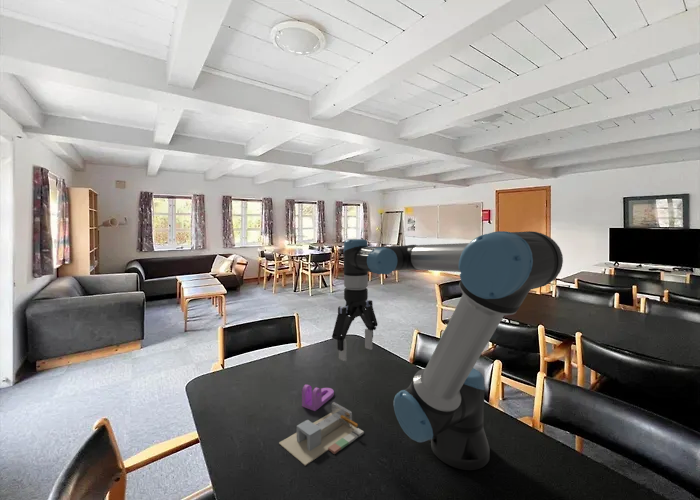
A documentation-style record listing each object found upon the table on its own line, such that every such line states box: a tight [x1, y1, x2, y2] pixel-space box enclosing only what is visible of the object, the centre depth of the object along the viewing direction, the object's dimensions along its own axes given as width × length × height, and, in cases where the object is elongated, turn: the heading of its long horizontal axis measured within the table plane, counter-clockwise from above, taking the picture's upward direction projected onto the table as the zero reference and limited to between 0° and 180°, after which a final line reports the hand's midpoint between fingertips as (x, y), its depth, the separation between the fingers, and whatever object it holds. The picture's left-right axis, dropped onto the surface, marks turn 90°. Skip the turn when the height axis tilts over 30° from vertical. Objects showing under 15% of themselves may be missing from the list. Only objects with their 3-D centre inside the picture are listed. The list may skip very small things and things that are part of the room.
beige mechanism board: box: [278, 412, 365, 467], centre depth 92 cm, size 14×20×5 cm
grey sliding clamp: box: [306, 401, 359, 440], centre depth 94 cm, size 12×14×5 cm
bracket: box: [301, 383, 335, 412], centre depth 113 cm, size 13×6×7 cm, turn 149°
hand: (356, 354), depth 103 cm, fingers open, 12 cm apart
